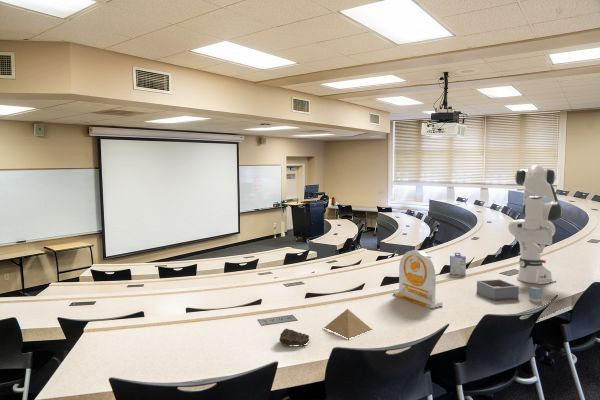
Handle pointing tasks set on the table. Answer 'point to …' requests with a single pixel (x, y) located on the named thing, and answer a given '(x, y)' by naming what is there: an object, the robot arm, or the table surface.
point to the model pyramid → (348, 325)
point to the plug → (535, 294)
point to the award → (417, 279)
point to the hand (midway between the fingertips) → (532, 251)
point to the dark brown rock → (293, 337)
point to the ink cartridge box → (458, 264)
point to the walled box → (497, 290)
